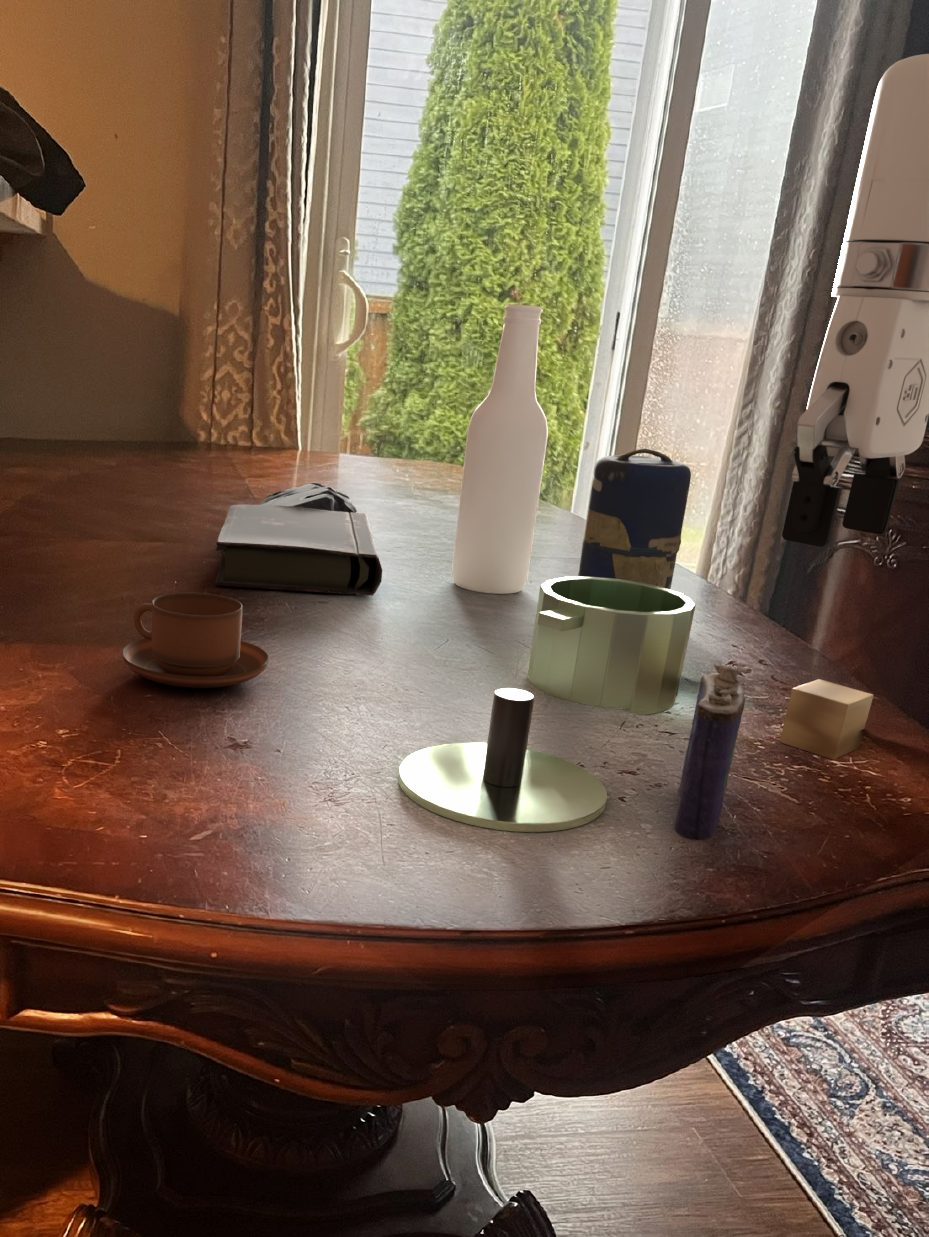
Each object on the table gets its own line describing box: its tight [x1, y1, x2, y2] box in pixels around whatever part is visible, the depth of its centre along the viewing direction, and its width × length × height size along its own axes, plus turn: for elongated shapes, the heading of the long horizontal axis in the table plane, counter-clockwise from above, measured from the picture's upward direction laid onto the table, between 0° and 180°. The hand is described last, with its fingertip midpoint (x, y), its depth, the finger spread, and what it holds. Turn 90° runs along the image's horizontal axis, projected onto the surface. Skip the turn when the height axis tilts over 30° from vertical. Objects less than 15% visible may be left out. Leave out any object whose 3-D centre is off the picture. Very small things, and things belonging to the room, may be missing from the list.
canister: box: [577, 448, 692, 590], centre depth 118 cm, size 10×10×18 cm
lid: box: [397, 687, 608, 833], centre depth 77 cm, size 14×14×7 cm
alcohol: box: [450, 303, 549, 595], centre depth 130 cm, size 9×9×30 cm
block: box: [779, 678, 874, 761], centre depth 91 cm, size 4×4×4 cm
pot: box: [526, 576, 696, 716], centre depth 100 cm, size 13×18×8 cm
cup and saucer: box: [122, 592, 270, 689], centre depth 96 cm, size 12×12×6 cm
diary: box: [214, 503, 383, 596], centre depth 136 cm, size 19×25×5 cm
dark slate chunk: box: [260, 482, 358, 513], centre depth 166 cm, size 15×22×5 cm
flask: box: [674, 662, 748, 842], centre depth 75 cm, size 9×3×11 cm, turn 162°
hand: (835, 536), depth 84 cm, fingers open, 9 cm apart
